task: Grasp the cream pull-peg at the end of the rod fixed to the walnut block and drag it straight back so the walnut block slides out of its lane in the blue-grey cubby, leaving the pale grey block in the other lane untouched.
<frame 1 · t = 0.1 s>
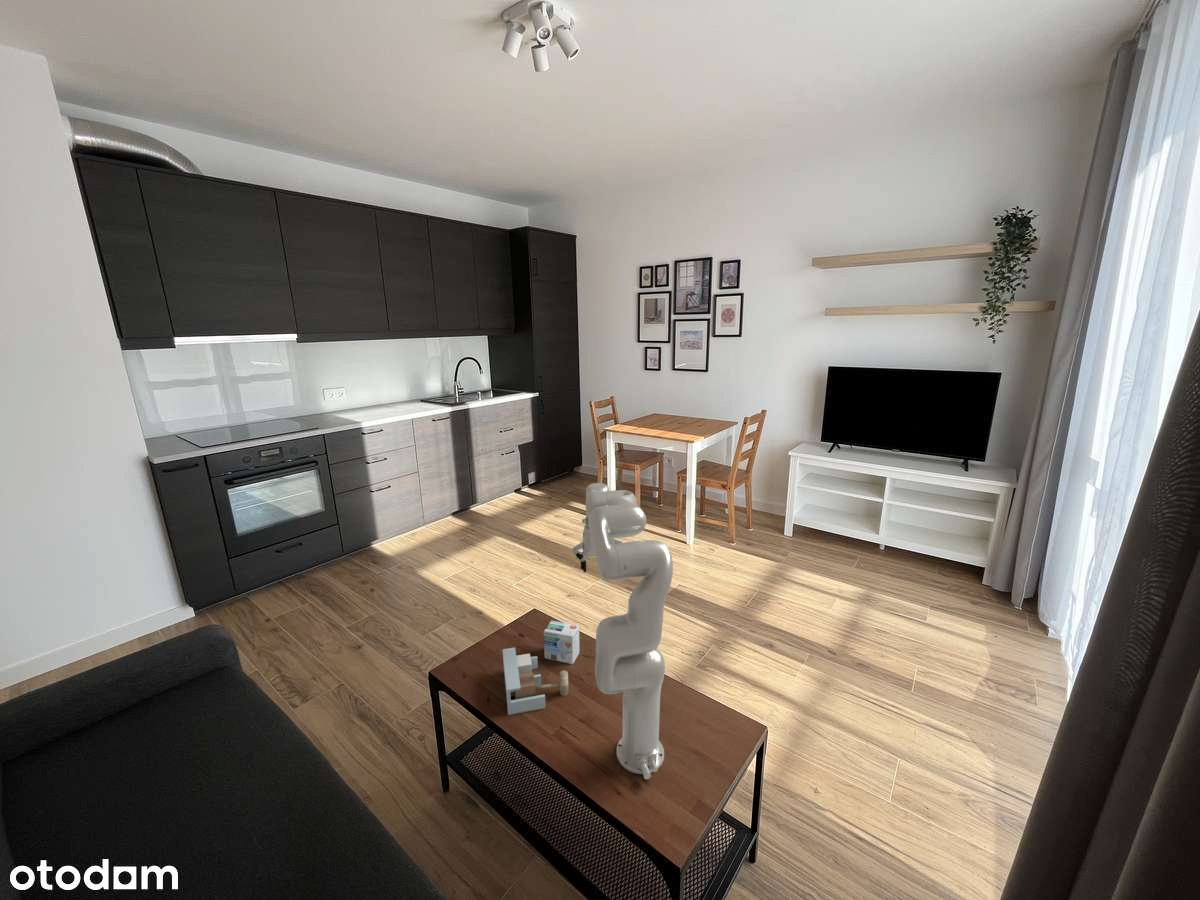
hand: (598, 568, 166), 31 cm above the table, fingers open, 9 cm apart
lane cubby: (525, 688, 155), on the table
light bulb box: (562, 656, 171), on the table
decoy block: (522, 679, 160), resting in lane cubby
tethered block: (525, 700, 151), on the table
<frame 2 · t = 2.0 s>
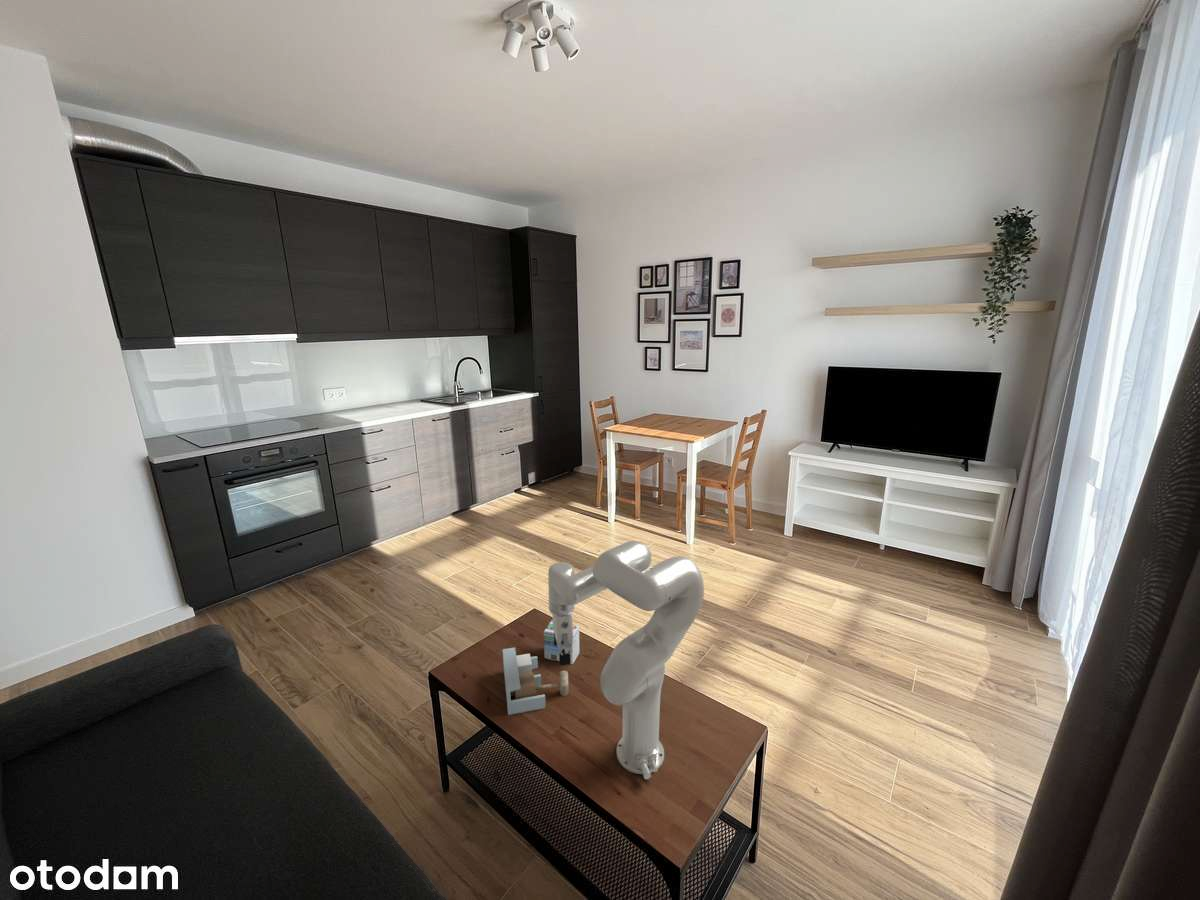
hand: (562, 653, 151), 14 cm above the table, fingers open, 9 cm apart
nothing on the table moved.
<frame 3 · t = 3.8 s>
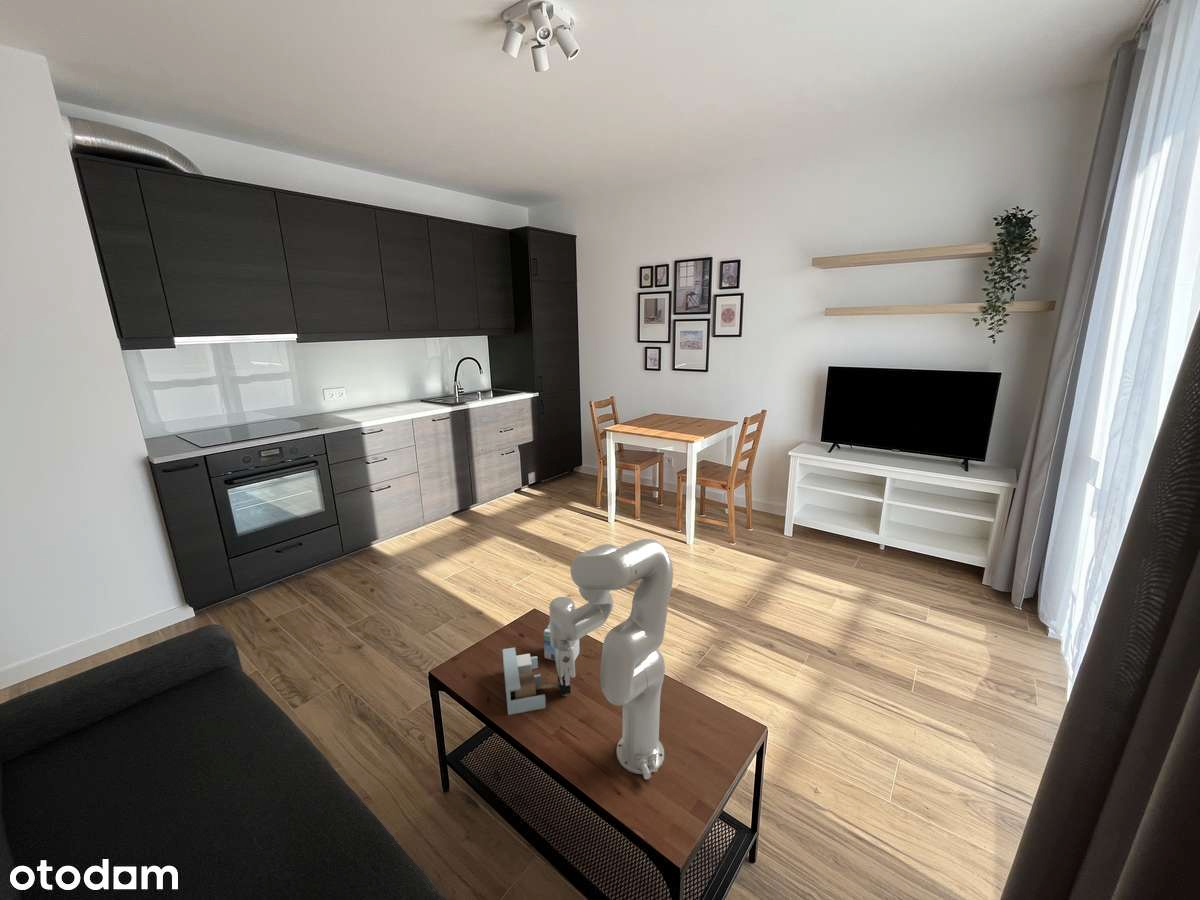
hand: (564, 689, 153), 1 cm above the table, fingers closed on tethered block, 2 cm apart
tethered block: (525, 699, 151), on the table, touching gripper
everything else where it was.
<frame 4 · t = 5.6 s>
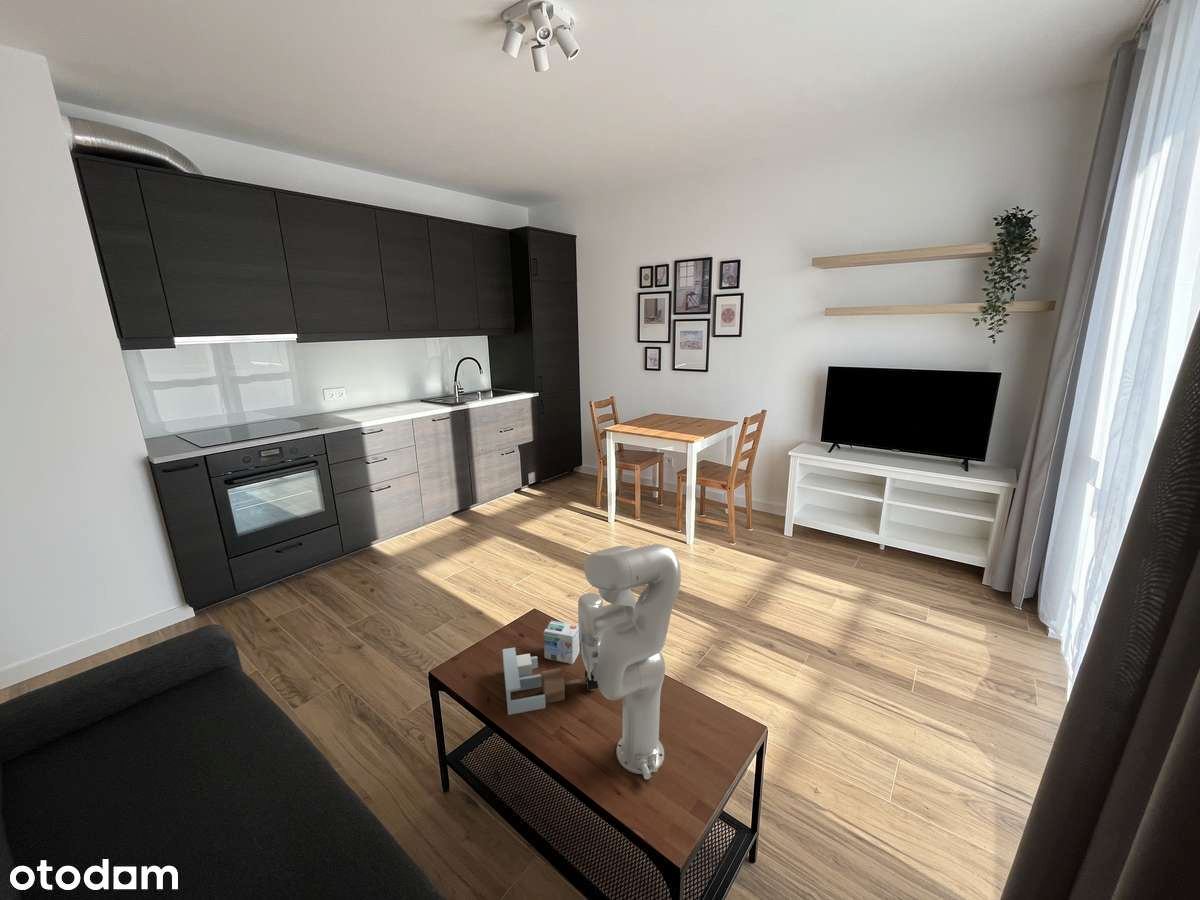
hand: (591, 684, 155), 1 cm above the table, fingers closed on tethered block, 2 cm apart
tethered block: (553, 695, 153), on the table, touching gripper
everything else where it was.
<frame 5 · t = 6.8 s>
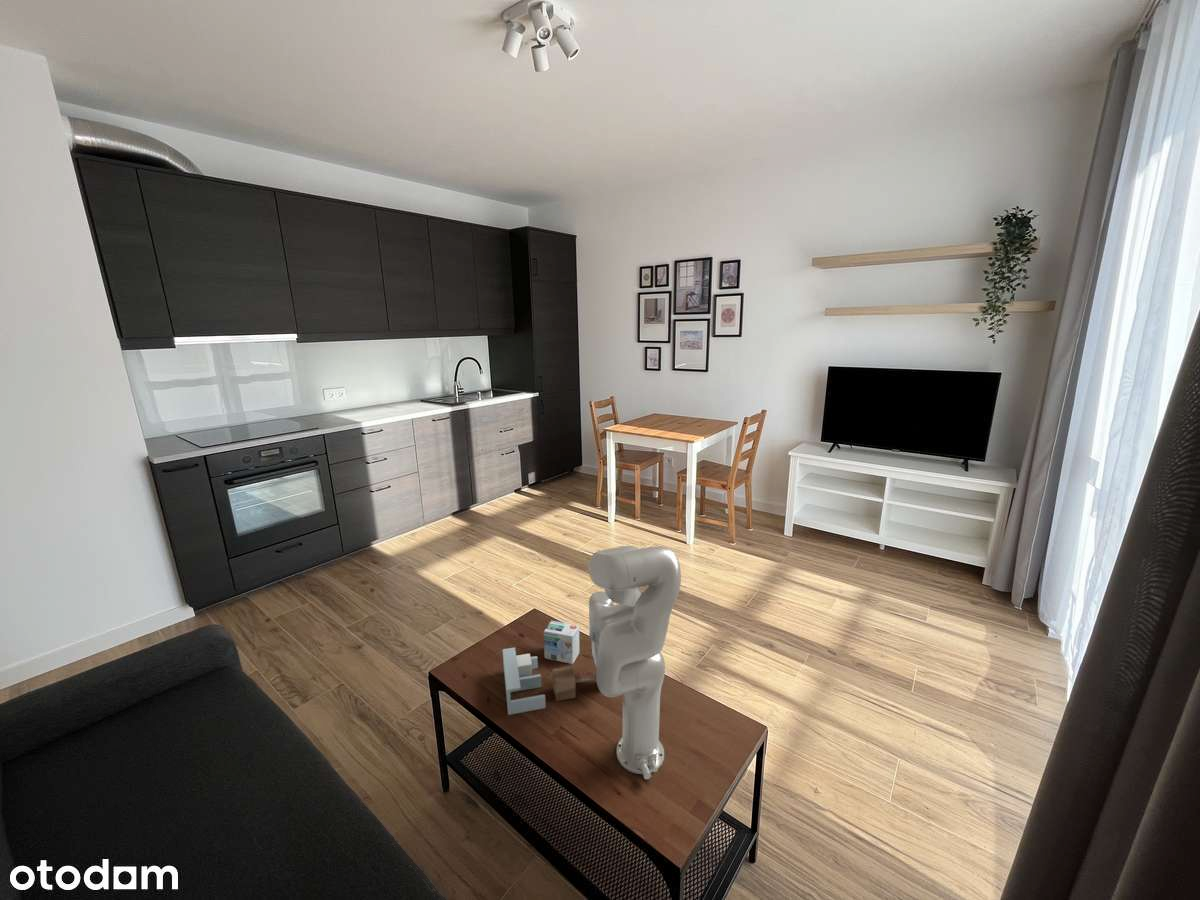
hand: (601, 682, 156), 1 cm above the table, fingers closed on tethered block, 2 cm apart
tethered block: (564, 692, 154), on the table, touching gripper
everything else where it was.
when the fingers open (1 cm above the table, at t = 7.3 s): tethered block stays where it is, on the table.
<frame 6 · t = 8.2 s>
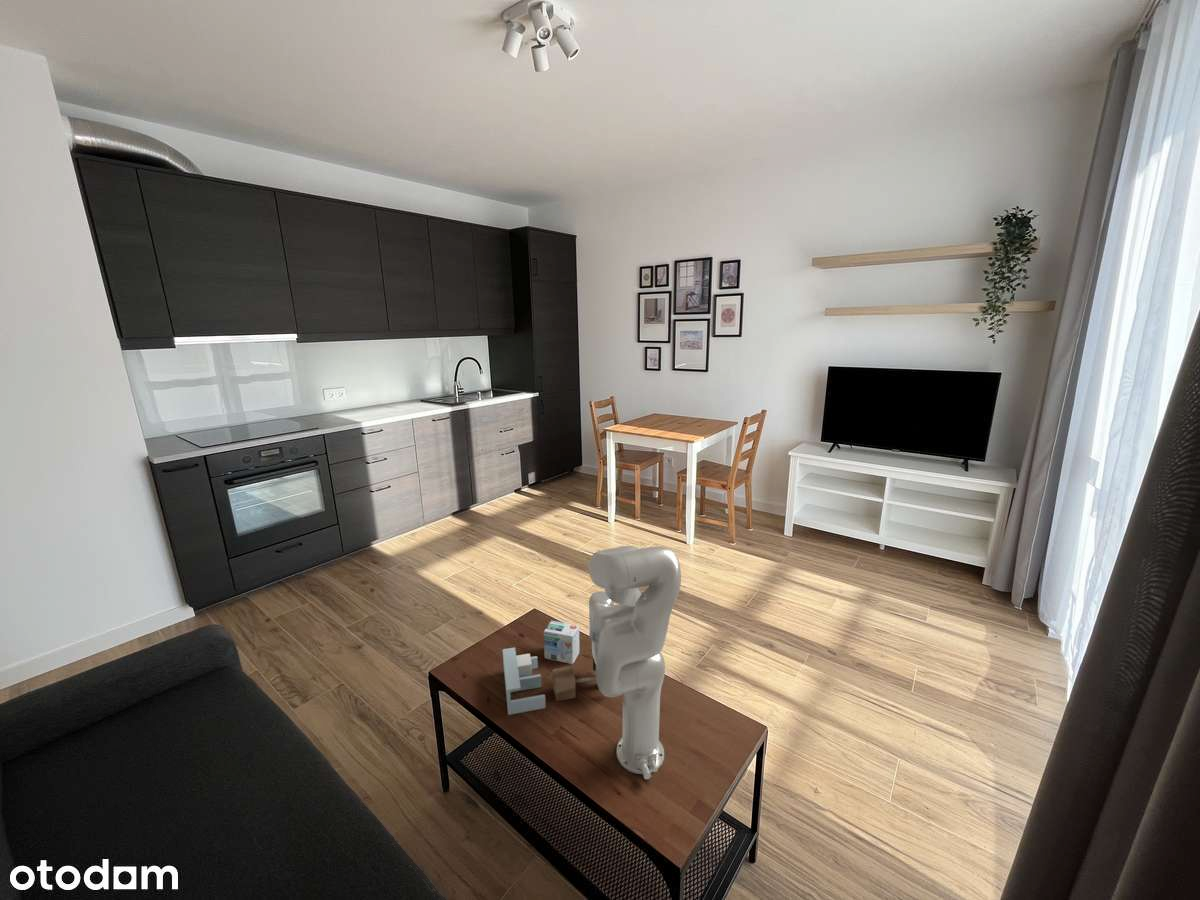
hand: (601, 679, 156), 2 cm above the table, fingers open, 9 cm apart
tethered block: (564, 693, 154), on the table
everything else where it was.
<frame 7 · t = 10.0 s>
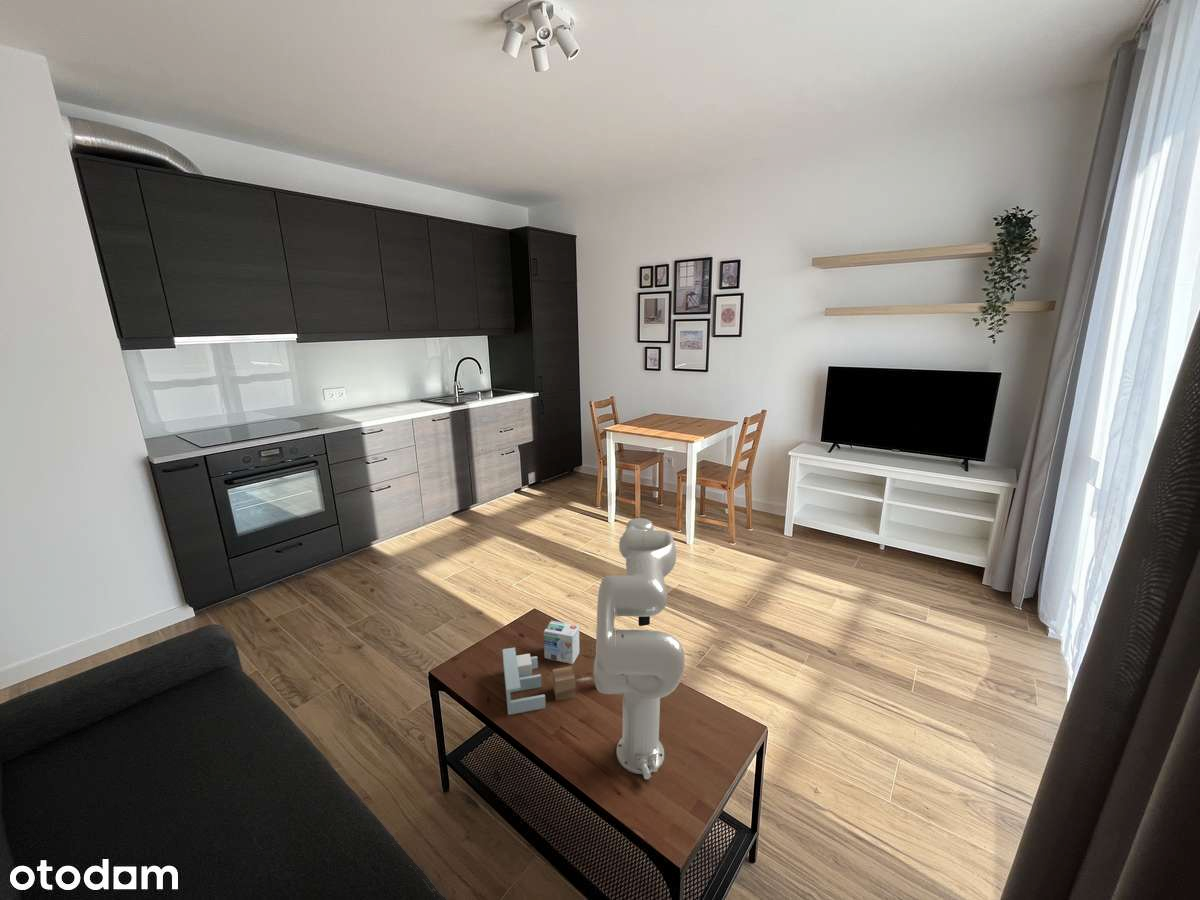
hand: (638, 615, 145), 28 cm above the table, fingers open, 9 cm apart
nothing on the table moved.
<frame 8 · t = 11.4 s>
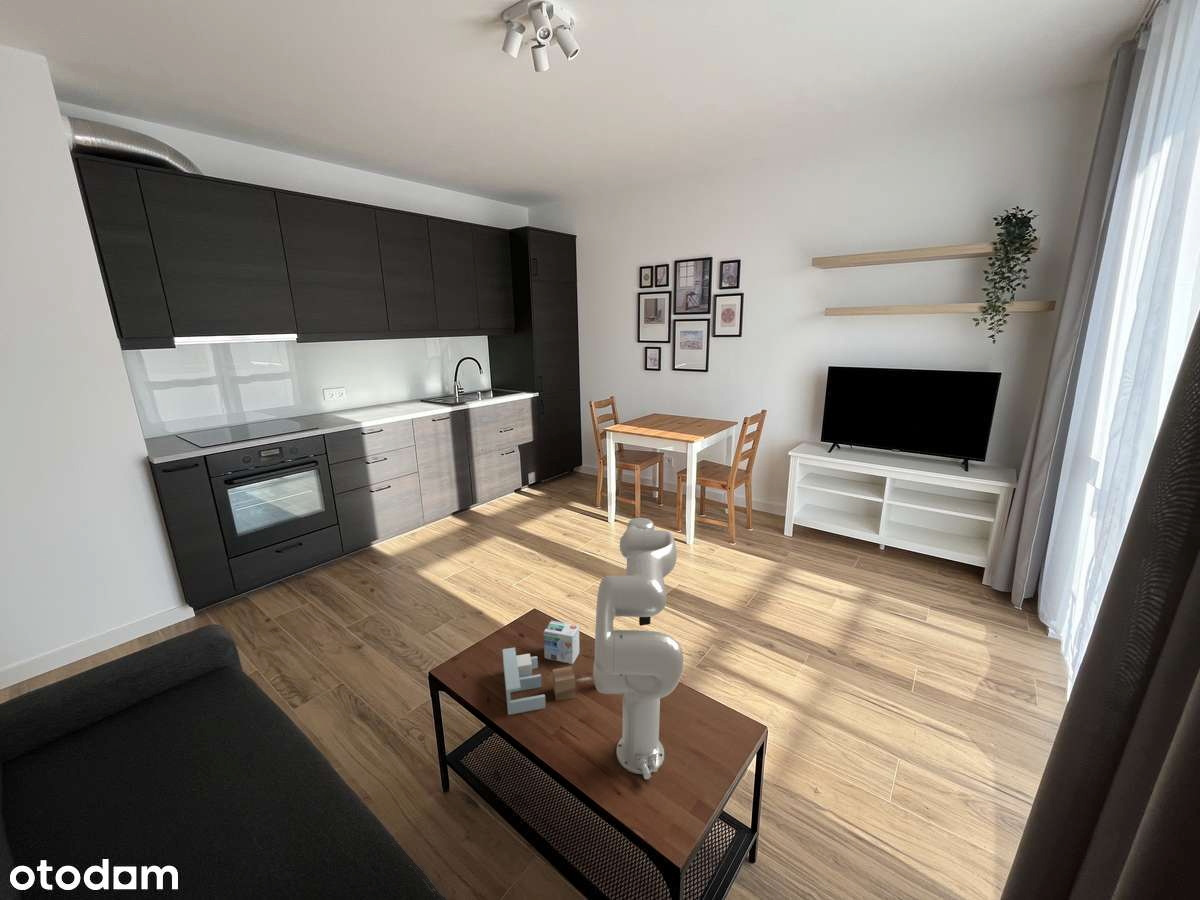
hand: (639, 614, 145), 28 cm above the table, fingers open, 9 cm apart
nothing on the table moved.
at the end: tethered block inside the target area (2.8 cm from its centre), on the table; tethered block tilted 0°; the gripper is holding nothing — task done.
